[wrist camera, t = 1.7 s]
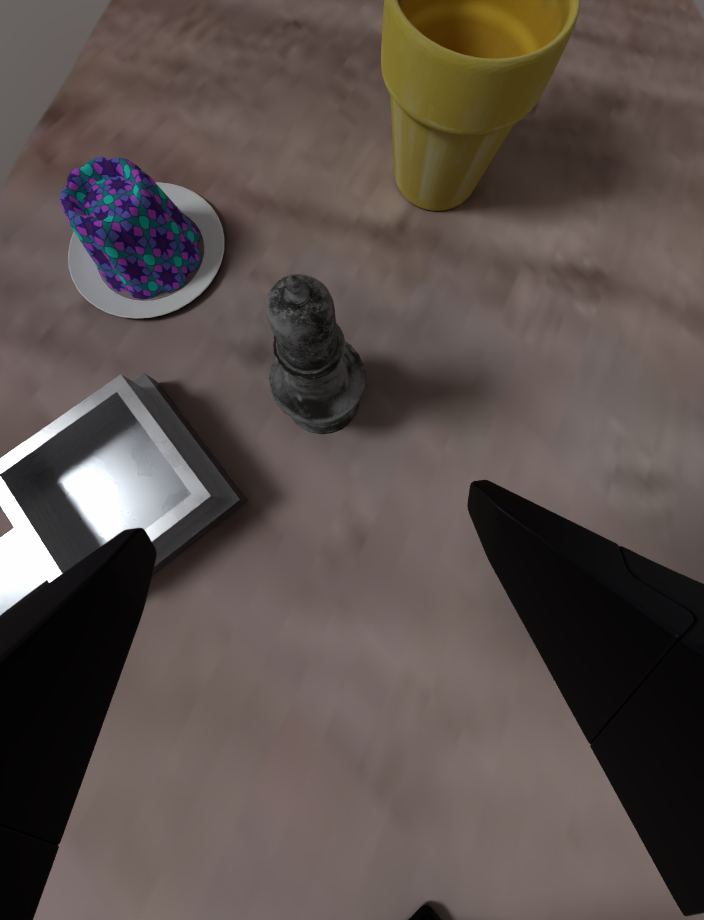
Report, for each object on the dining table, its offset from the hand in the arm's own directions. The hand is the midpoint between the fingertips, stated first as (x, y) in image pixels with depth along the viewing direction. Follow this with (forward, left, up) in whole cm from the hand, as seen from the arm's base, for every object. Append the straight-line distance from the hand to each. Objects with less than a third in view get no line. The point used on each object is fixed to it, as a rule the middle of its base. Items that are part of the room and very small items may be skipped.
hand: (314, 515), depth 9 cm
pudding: (+25, -1, -14) cm, 29 cm away
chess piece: (+7, -4, -13) cm, 16 cm away
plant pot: (+16, -23, -13) cm, 31 cm away
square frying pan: (+10, +19, -13) cm, 25 cm away
